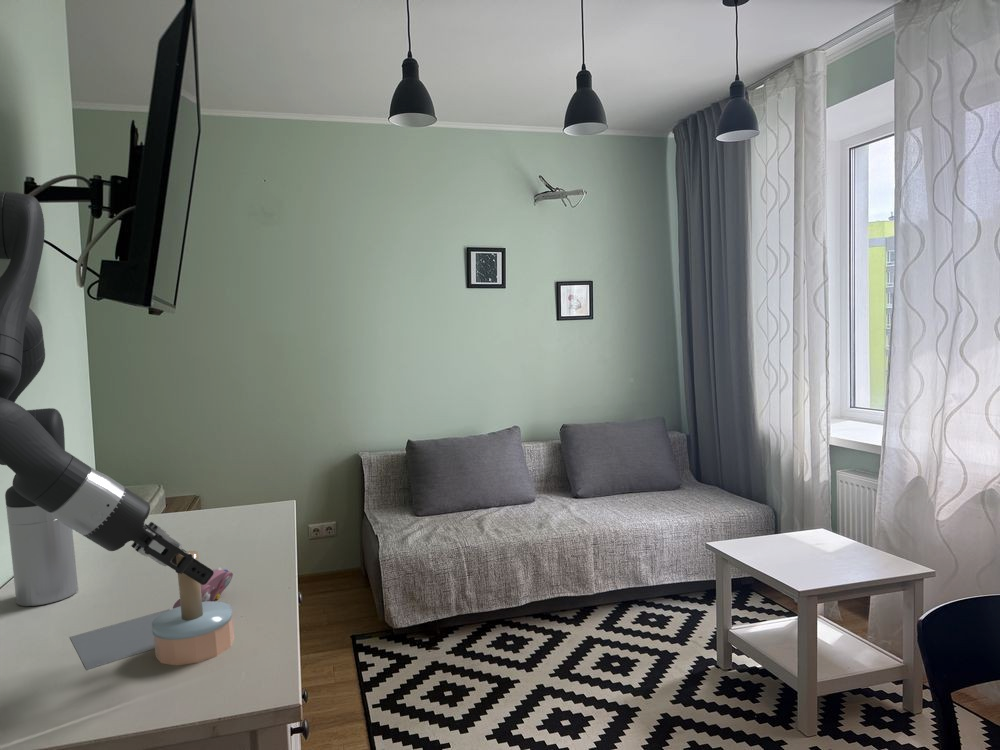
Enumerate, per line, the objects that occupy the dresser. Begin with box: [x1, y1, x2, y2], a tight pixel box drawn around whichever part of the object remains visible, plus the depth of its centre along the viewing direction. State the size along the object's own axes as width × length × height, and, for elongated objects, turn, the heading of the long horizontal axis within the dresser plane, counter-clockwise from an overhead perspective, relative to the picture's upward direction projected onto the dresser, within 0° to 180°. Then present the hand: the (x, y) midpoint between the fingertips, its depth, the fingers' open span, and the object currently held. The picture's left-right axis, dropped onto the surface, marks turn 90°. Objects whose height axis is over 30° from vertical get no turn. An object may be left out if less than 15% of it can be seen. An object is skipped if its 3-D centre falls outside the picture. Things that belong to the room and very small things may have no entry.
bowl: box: [154, 613, 236, 666], centre depth 99 cm, size 10×10×4 cm
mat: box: [69, 608, 171, 671], centre depth 104 cm, size 14×14×1 cm
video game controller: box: [172, 566, 234, 609], centre depth 115 cm, size 10×5×7 cm, turn 169°
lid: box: [152, 550, 233, 640], centre depth 99 cm, size 10×10×10 cm
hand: (199, 571), depth 99 cm, fingers open, 8 cm apart
